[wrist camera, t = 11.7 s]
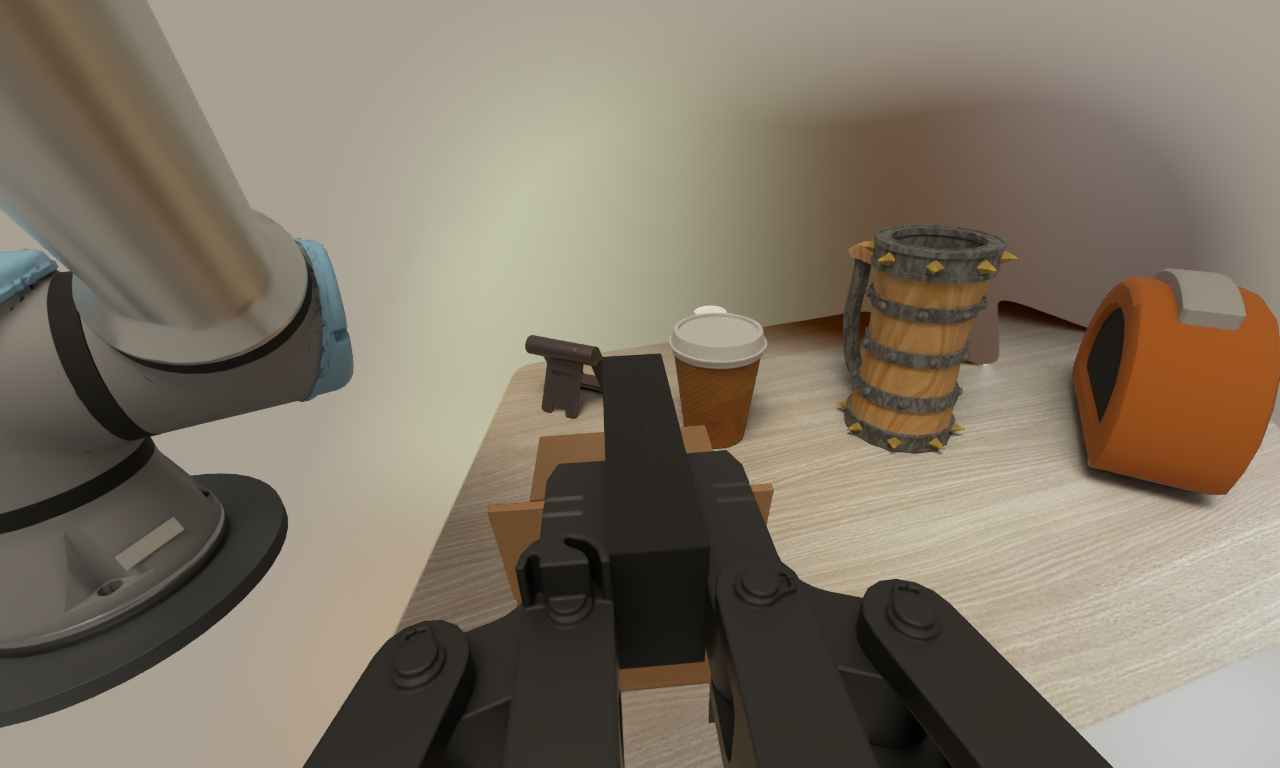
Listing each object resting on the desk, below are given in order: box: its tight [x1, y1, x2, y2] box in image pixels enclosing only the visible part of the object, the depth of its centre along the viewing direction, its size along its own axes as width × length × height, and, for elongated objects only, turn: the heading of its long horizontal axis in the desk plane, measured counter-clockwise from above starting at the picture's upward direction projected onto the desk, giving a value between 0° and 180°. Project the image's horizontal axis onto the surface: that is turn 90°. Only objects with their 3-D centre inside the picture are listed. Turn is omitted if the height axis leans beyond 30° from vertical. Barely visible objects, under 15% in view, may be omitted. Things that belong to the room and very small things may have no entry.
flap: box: [487, 484, 774, 600], centre depth 26 cm, size 13×7×1 cm
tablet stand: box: [525, 335, 603, 418], centre depth 63 cm, size 9×8×8 cm
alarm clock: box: [1072, 269, 1280, 495], centre depth 50 cm, size 23×9×17 cm, turn 148°
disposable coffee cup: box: [669, 313, 767, 448], centre depth 55 cm, size 10×10×12 cm
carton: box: [516, 425, 713, 691], centre depth 37 cm, size 13×15×9 cm
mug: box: [837, 225, 1018, 453], centre depth 55 cm, size 13×17×20 cm
